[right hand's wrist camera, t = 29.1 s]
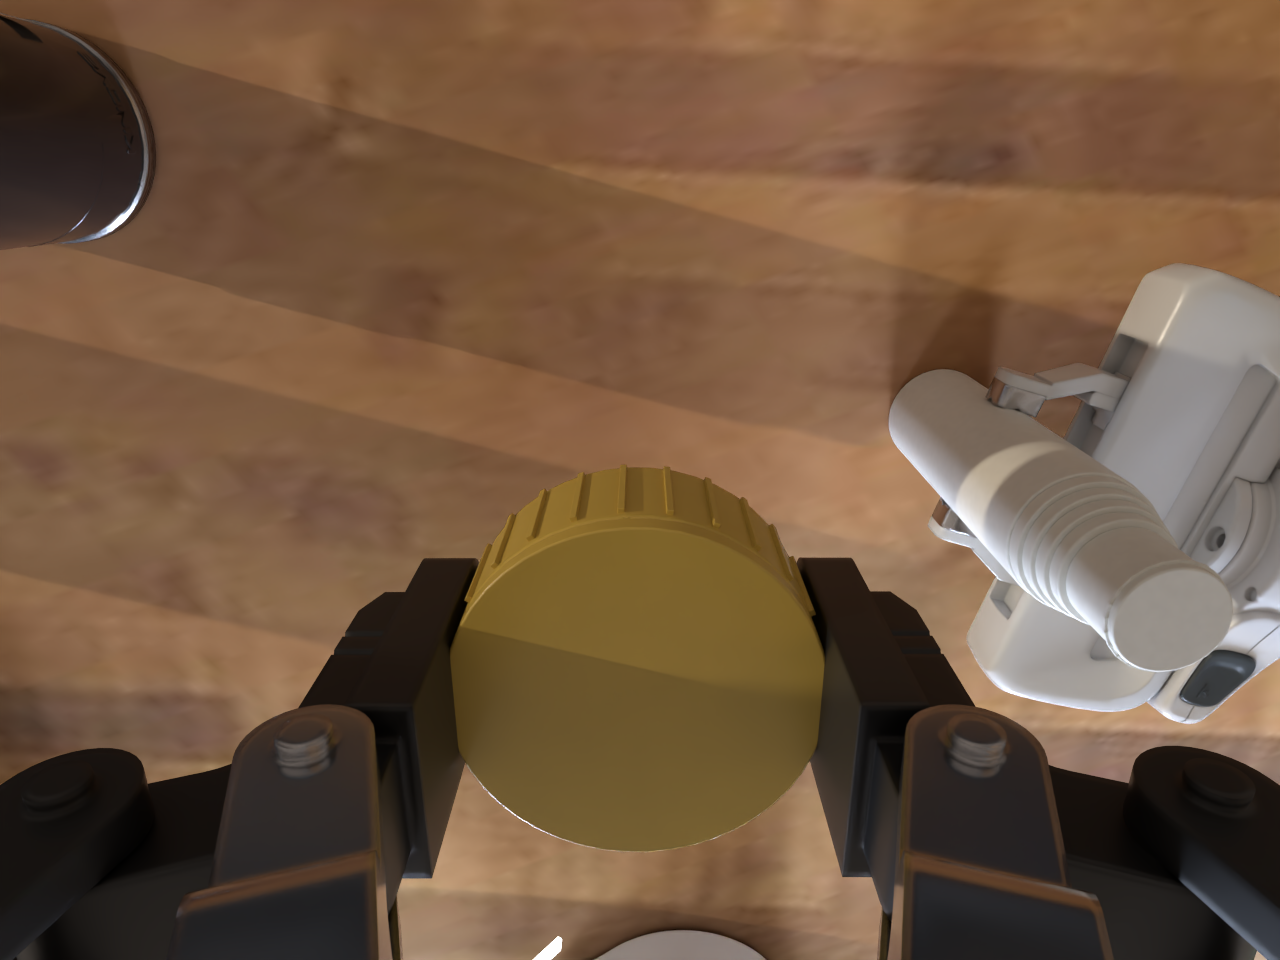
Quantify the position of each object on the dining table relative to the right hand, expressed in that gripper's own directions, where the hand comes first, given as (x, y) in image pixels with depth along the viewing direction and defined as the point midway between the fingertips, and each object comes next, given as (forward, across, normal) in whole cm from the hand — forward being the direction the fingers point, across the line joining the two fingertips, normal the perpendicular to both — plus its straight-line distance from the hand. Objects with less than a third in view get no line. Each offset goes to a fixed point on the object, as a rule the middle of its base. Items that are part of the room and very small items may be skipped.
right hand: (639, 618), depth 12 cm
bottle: (+31, +15, -6) cm, 35 cm away
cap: (-2, 0, 0) cm, 2 cm away
